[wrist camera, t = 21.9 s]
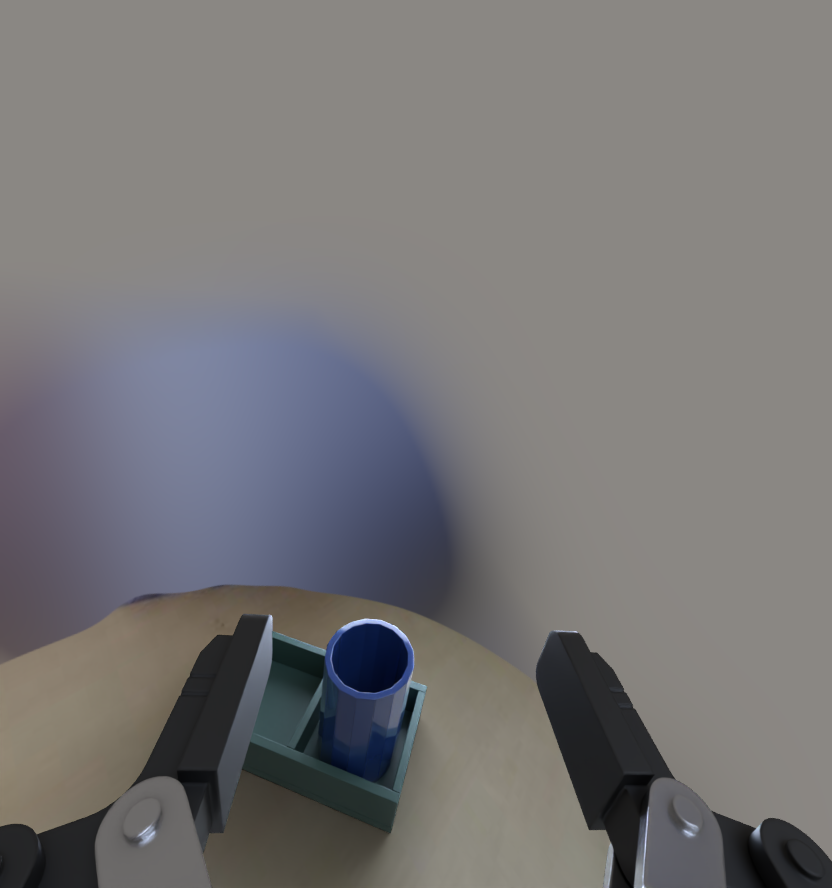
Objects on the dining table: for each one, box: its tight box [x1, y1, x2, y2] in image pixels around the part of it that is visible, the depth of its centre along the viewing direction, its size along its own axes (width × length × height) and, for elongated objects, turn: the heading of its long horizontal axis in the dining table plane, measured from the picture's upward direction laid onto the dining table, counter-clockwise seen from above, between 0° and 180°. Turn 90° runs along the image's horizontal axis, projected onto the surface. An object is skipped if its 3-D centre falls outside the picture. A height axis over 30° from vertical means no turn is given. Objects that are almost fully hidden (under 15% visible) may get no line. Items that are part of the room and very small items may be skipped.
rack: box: [242, 631, 427, 833], centre depth 31 cm, size 8×16×4 cm, turn 75°
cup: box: [318, 619, 414, 783], centre depth 29 cm, size 6×6×10 cm
